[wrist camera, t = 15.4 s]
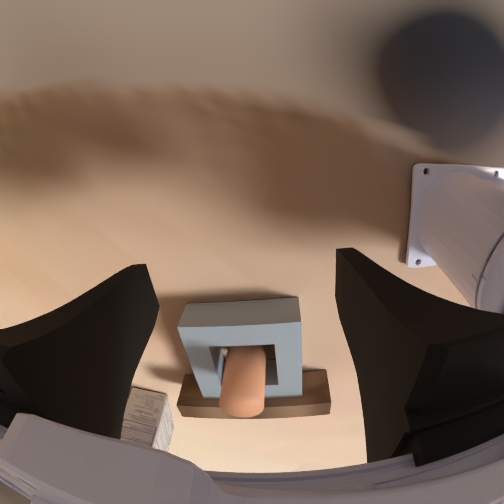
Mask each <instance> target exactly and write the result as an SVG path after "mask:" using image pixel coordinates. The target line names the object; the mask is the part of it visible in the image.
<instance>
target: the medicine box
mask: <svg viewBox="0 0 504 504" xmlns="http://www.w3.org/2000/svg"><path fill="white" fill-rule="evenodd" d="M173 428H174V426H173V421H172V416H171V412H170V407H169V402H168V396H167V395H166V394H162V393H158V392H153V391H148V390H143V389H138V388H133V389H132V391H131V393H130V396H129V399H128V401H127V404H126V408H125V413H124V418H123V425H122V432H121V439H120V440H124V441H129V442H134V443H137V444H141V445H144V446H148V447H152V448H156V449H160V450H163V451H166V452H168V449H169V445H170V441H171V437H172V432H173Z"/></svg>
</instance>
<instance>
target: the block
mask: <svg viewBox="0 0 504 504" xmlns="http://www.w3.org/2000/svg"><path fill="white" fill-rule="evenodd" d="M177 329H178V331H179V334H180V337H181V340H182V343H183V346H184V348H185V351H186V354H187V357H188V359H189V362H190V365H191V367H192V370H193V373H194V375H195V378H196V380H197V383H198V385H199V388H200V390H201V393H202V395H203V398H204V399H220V393H221V387H222V382H223V376H224V370H225V364H226V362H225V361H224V357H223V353H222V349H221V346H247V345H268V344H275V354H276V360H267V361H266V370H265V395H264V399H266V398H287V397H301V396H302V339H301V317H300V308H299V299H298V297H293V298H280V299H265V300H250V301H232V302H213V303H189V304H186V306H185V308H184V311H183V313H182V316H181V318H180V321H179V324H178V326H177Z"/></svg>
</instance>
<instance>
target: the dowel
mask: <svg viewBox="0 0 504 504" xmlns="http://www.w3.org/2000/svg"><path fill="white" fill-rule="evenodd" d="M265 370H266V345H247V346H228V352H227V358H226V364H225V370H224V376H223V382H222V387H221V393H220V399H219V407H220V408H221V410H222V411H224V412H225V413H227V414H229V415H232V416H235V417H242V418H246V417H253V416H256V415H258V414H260V413H261V412H262V411H263V409H264V395H265Z"/></svg>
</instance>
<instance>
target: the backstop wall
mask: <svg viewBox="0 0 504 504" xmlns="http://www.w3.org/2000/svg"><path fill="white" fill-rule="evenodd" d="M177 407H178V409H179V411H180V413H181V415H182V416H183V417H197V418H221V419H265V418H288V417H303V416H315V415H325V414H330V407H331V398H330V391H329V384H328V378H327V371H326V370H319V371H308V372H302V396H301V397H287V398H266V399H264V409H263V411H262V412H261V413H260V414H258V415H256V416H253V417H246V418H242V417H235V416H232V415H229V414H227V413H225V412H224V411H222V410H221V408H220V407H219V399H204V398H203V395H202V393H201V390H200V388H199V385H198V383H197V380H196V378H195V375H185V377H184V380H183V384H182V387H181V391H180V395H179V398H178V402H177Z"/></svg>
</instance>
